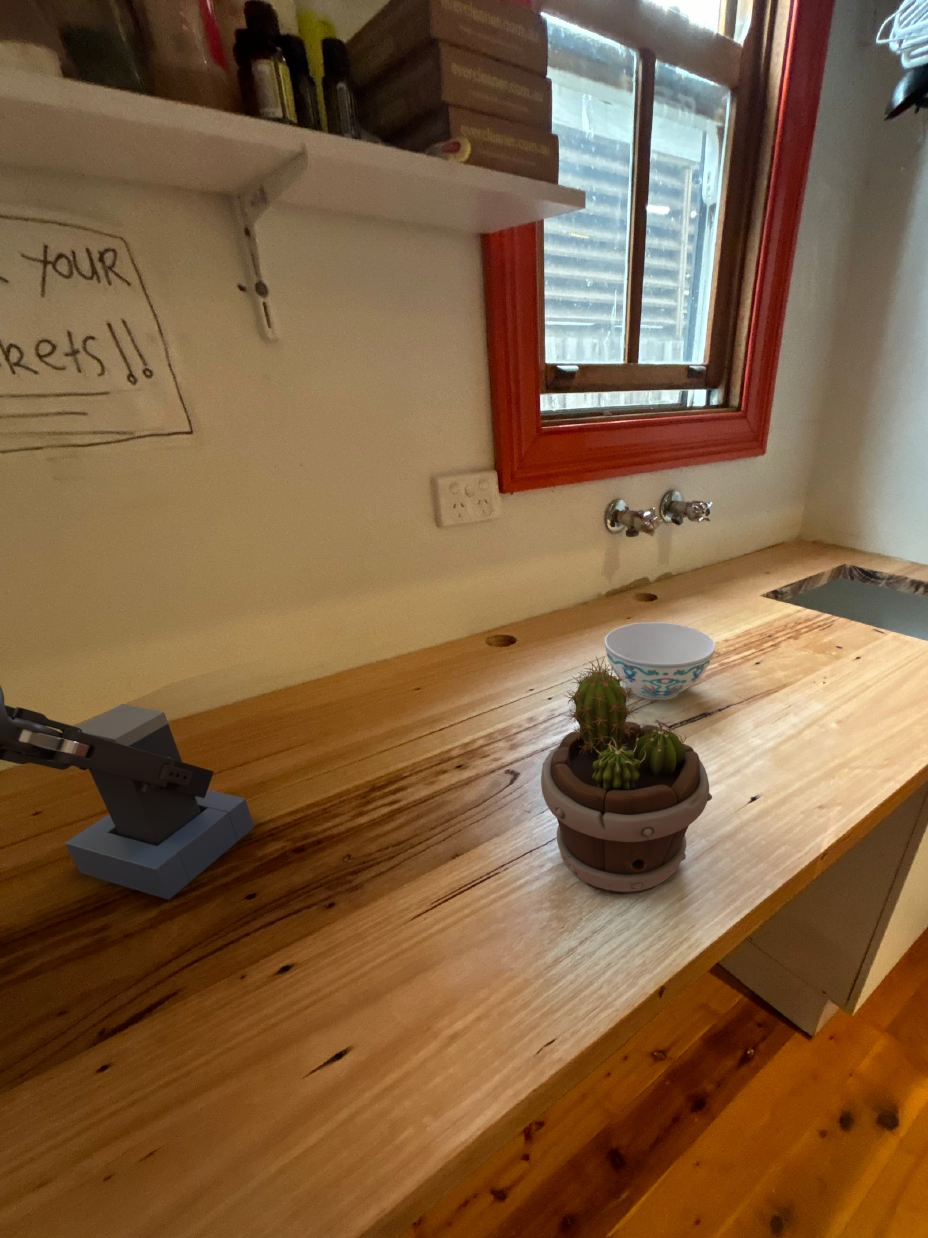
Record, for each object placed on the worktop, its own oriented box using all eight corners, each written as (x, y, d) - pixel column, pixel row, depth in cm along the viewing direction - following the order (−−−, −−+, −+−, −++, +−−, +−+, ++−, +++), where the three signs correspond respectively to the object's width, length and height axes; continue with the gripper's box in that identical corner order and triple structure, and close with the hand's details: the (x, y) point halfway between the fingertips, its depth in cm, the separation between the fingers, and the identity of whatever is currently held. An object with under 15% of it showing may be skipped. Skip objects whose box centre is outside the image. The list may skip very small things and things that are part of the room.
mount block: (170, 902, 57) (155, 869, 55) (81, 875, 60) (64, 842, 58) (255, 829, 66) (245, 798, 63) (174, 809, 69) (162, 778, 67)
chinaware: (697, 725, 83) (704, 671, 79) (588, 705, 88) (590, 654, 84) (716, 678, 95) (723, 629, 91) (620, 663, 100) (622, 616, 96)
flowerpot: (732, 872, 59) (767, 678, 49) (600, 944, 52) (608, 734, 42) (633, 795, 70) (645, 622, 60) (512, 846, 63) (501, 660, 53)
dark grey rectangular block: (161, 851, 58) (114, 739, 52) (120, 840, 60) (70, 729, 54) (203, 819, 63) (164, 711, 56) (164, 809, 64) (122, 703, 58)
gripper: (-214, 738, 43) (101, 798, 64) (-30, 787, 37) (244, 835, 59) (-162, 635, 44) (128, 728, 66) (21, 668, 39) (270, 757, 61)
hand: (183, 778), depth 62 cm, fingers closed on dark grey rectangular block, 5 cm apart
